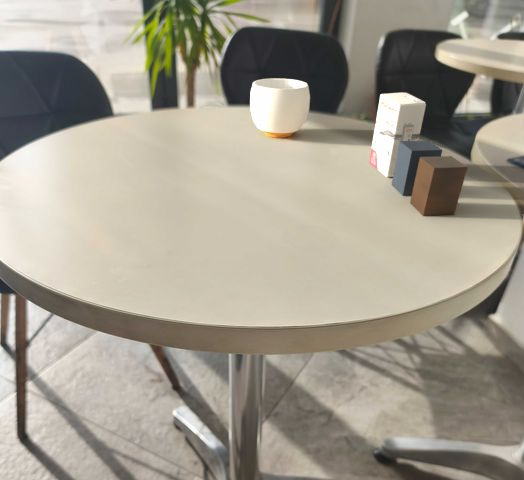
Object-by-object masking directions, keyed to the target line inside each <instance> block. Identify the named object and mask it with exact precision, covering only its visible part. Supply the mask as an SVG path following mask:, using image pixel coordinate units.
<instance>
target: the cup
mask: <svg viewBox="0 0 524 480" xmlns="http://www.w3.org/2000/svg"><path fill="white" fill-rule="evenodd" d="M249 93H250V94H249V95H250V97H249V108H250V113H251V118H252V121H253V123H254V125H255V126H256V128H257V129H259V130H260V131H262V132H263V133H264V134H265V136H267V137H269V138H276V139H278V138H279V139H283V138H289V137H291V136H292V135H293V133H295V132H298V131H299V130H300V129H301V128H302V127H303V126H304V125H305V123H306V121H307V118H308V115H309V112H310V106H311V105H310V103H311V94H310V87H309V84H308V83H307V82H305V81H302V80H299V79H293V78H279V77H278V78H276V77H275V78H274V77H273V78H272V77H271V78H262V79H257V80H254V81H253V82H252V85H251V88H250V92H249Z"/></svg>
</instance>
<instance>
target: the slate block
mask: <svg viewBox="0 0 524 480" xmlns="http://www.w3.org/2000/svg"><path fill="white" fill-rule="evenodd" d="M442 155H443V149H442V148H440V147H439V146H437V145H436V144H434V143H433V142H432V141H431V140H418V141H400V143H399V148H398V153H397V158H396V164H395V169H394V174H393V177H392V180H391V186H392V187H393V188H395V190H396V191H398V193H399V194H400V195H401V196H403V197H404V196H412V192H413V187H414V182H415V178H416V173H417V169H418V164H419V159H420V157H438V156H442Z"/></svg>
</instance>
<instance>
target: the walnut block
mask: <svg viewBox="0 0 524 480" xmlns="http://www.w3.org/2000/svg"><path fill="white" fill-rule="evenodd" d="M467 171H468V166H466V165H465V164H464V163H462V162H461V161H459V160H458V159H456V158H455V157H453V156H451V155H446V156H445V155H444V156H442V155H441V156H438V157H420V159H419V164H418V169H417V173H416V178H415V182H414V187H413V192H412V195H410V196H411V197H410V201H409V203H410V205H411V206H412V207H413V208H414V209H415V210H416V211H417V212H419V213H420V214H421V215H422V216H423V217H425V216H426V217H427V216H428V217H429V216H450V215H451V216H452V215H455V214H456V210H457V207H458V203H459V200H460V196H461V192H462V188H463V186H464V182H465V179H466V174H467Z"/></svg>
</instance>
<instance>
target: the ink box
mask: <svg viewBox="0 0 524 480" xmlns="http://www.w3.org/2000/svg"><path fill="white" fill-rule="evenodd" d="M426 107H427V104H426V101H424V100H422V99H420V98H418V97H416V96H414V95H413V94H410V93H408V92H389V93H381V94H380V95H379V101H378V107H377V112H376V119H375V126H374V130H373V137H372V143H371V150H370V154H369V160H368V163H369V164H370V165H371V166H373V168H375V169H376V170H377V171H379V172H380V173H381V174H382V175H383V176H384V177H386V178H393V174H394V169H395V164H396V158H397V153H398V148H399V143H400V141H420V135H421V131H422V125H423V122H424V117H425V112H426Z"/></svg>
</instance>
